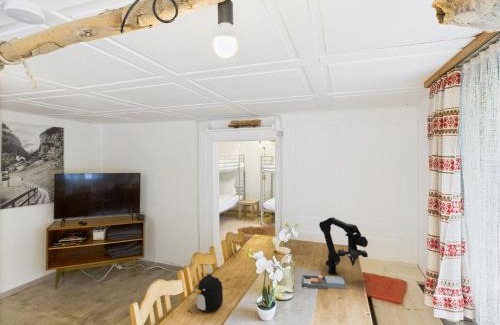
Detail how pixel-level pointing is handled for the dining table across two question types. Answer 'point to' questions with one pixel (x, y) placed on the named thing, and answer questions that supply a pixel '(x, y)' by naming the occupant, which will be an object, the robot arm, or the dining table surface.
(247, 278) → the dining table surface
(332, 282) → the light grey slab
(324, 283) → the tray
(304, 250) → the dining table surface
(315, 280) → the tile
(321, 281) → the tile
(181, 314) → the dining table surface
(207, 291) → the penguin
